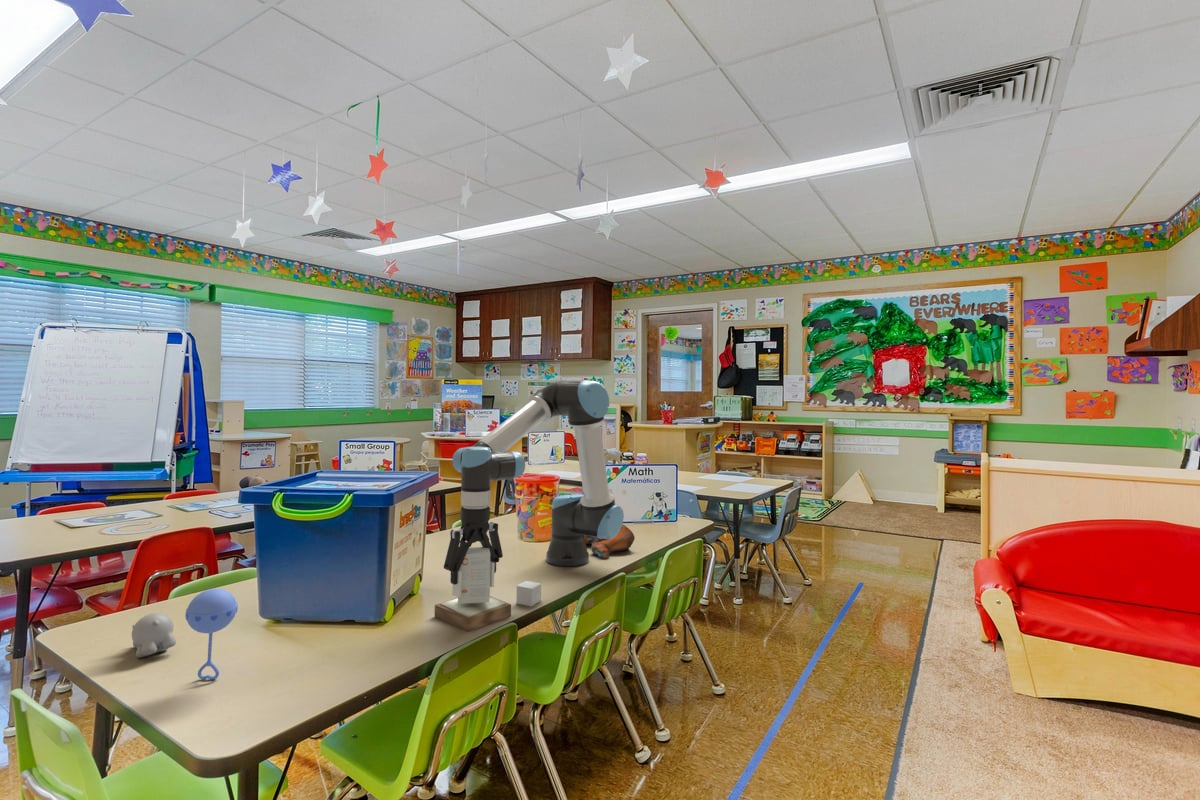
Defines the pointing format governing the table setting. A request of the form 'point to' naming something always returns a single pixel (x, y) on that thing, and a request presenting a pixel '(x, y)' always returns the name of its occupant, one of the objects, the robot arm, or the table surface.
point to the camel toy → (611, 542)
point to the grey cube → (528, 593)
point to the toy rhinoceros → (153, 634)
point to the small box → (475, 576)
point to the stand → (472, 613)
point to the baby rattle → (211, 618)
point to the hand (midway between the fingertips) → (473, 590)
